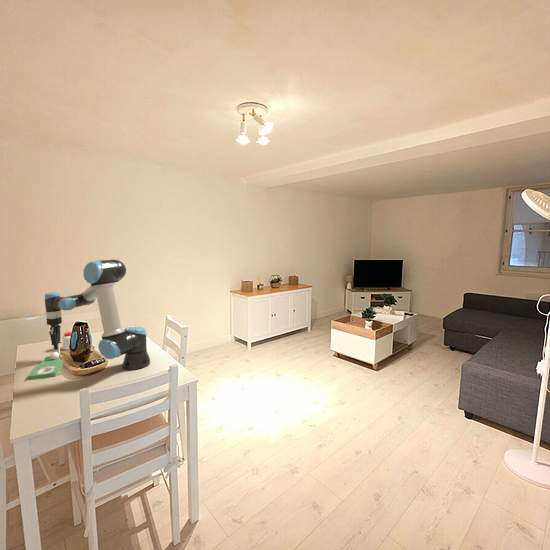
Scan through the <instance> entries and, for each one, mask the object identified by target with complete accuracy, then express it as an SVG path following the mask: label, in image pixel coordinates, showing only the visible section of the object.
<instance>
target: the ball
mask: <svg viewBox="0 0 550 550" xmlns="http://www.w3.org/2000/svg"><path fill="white" fill-rule="evenodd" d="M59 355H60V354H59V353H58V352H54V351H53V352H51V354H50V357H51V359H57V358H58V357H59Z"/></svg>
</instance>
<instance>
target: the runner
mask: <svg viewBox="0 0 550 550" xmlns="http://www.w3.org/2000/svg"><path fill="white" fill-rule="evenodd" d="M62 366H63V367H64V365H63V362H62V360H61V359H60V357H58V358H57V359H51V357H50V356H49V355H48V356H46V357H45V358H44V359H43V360H42V361H41V362H40V363H39V365H37V367H36V368H34V370H33V371H32V372H30V373H29V375H28V380H29V381H31V380H38V379H43V378H45V379H47V378H52V377H54V378H55V377H56V376H57V374H59V372H60V371H61V369H62V368H63V367H62Z"/></svg>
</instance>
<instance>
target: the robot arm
mask: <svg viewBox="0 0 550 550" xmlns="http://www.w3.org/2000/svg"><path fill="white" fill-rule="evenodd" d="M82 274H83V278H84V281H86V283H87V284H90V285H89V287H87V288H86V289H85V290H84V291H83V292H81V293H79V294H73V295H67V296H61V294H60V292H58V291H51V292H46V293H45V294H44V305H45V306H44V307H45V313H44V314H45V317H46V325H47V326H50V327H49V329H50V330H49V332H48V333H49V336H50V337H49V338H50V342H51V346H53V352H58V353H59V355H61V350H60V349H61V348H60V344H62V342H61V327H62V326H61V325H60V324H62V323H63V318H62V311H72V310H73V309H74V308H78V307H83V306H89V305H91V304H94V303H95V301H96V300H97V305H98V310H99V315H100V319H101V323H102V325H101V326H102V328H103V333H102V335H101V340H100V341H99V342H98V343H99V344H98V345H97V346H98V347H97V348H98V350H99V352H100V354H101V355H102V356H103V357H104V358H105V359H108V360H113V359H117V358H120V357H121V356H123V355H124V357H123V361H122V368H123V369H125V370H128V371H133V370H134V371H135V370H142V369H144V368H146V367H148V366H150V364H151V358H150V356H149V353H148V350H147V330H146V328H144V327H142V326H128V327H125V328H124V329H123V328H122V326H121V320H120V315H119V309H118V305H117V301H116V295H115V291H114V285H115V284H116V283H118V282H120V281H122V280H123V278H124V277H125V276H126V275H127V268H126V265H125V264H124V262H122V261H121V260H119V259H105V260H104V259H102V260H93V261H90V262H88V263H86V265H85V266H84V268H83V273H82Z"/></svg>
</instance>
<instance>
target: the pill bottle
mask: <svg viewBox="0 0 550 550" xmlns="http://www.w3.org/2000/svg"><path fill="white" fill-rule="evenodd" d="M71 332H72V331H66V332H64V333H63V335H62V337H61V338H62V339H61V340H62V350H63V349H68V348H69V342H70V336H71Z"/></svg>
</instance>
